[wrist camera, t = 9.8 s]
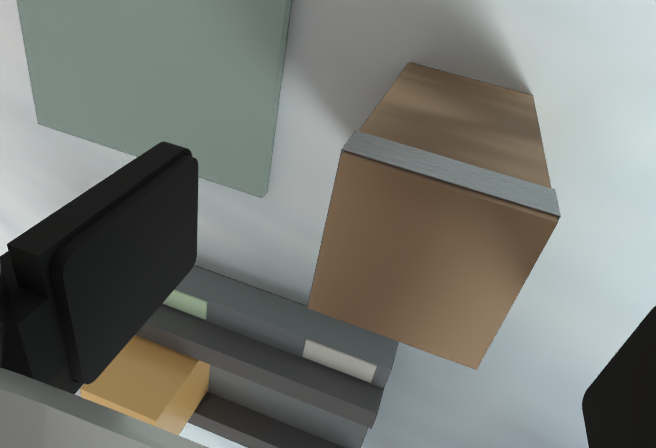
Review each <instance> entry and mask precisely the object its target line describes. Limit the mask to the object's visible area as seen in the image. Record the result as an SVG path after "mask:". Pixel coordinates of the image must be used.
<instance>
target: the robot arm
mask: <svg viewBox="0 0 656 448" xmlns="http://www.w3.org/2000/svg"><path fill="white" fill-rule="evenodd" d="M197 214H198V161H197V159H196V158H194V157H192V153H191V151H190V150H189V149H188V148H184V147H181V146H178V145H175V144H172V143H168V142H164V141H163V142H160V143H158V144H157V145H155V146H154V147H152V148H151V149H149V150H148V151H146V152H145V153H143V154H142V155H140V156H139V157H137V158H136V159H134V160H133V161H131V162H130V163H128V164H127V165H125V166H124V167H122V168H121V169H119V170H118V171H116V172H115V173H113V174H112V175H110V176H109V177H107V178H106V179H104V180H103V181H101V182H100V183H98V184H97V185H95V186H94V187H92V188H91V189H89V190H88V191H86V192H85V193H83V194H82V195H80V196H79V197H77V198H76V199H74V200H73V201H71V202H70V203H68V204H67V205H65V206H64V207H62V208H61V209H59V210H58V211H56V212H54V213H53V214H51V215H50V216H48V217H47V218H45V219H44V220H42V221H41V222H39V223H38V224H36V225H35V226H33V227H32V228H30V229H29V230H27V231H26V232H24V233H23V234H21V235H20V236H18V237H17V238H15V239H14V240H12V241H11V242H9V243H8V244H7V247H8V250H9V251H8V252H6V253H5V254H3V255H2V256H0V448H208V447H206V446H203V445H201V444H198V443H196V442H193V441H191V440H188V439H186V438H183V437H181V436H178V435H176V434H173V433H171V432H168V431H166V430H163V429H161V428H158V427H156V426H153V425H151V424H148V423H146V422H143V421H141V420H138V419H136V418H133V417H131V416H128V415H126V414H123V413H121V412H118V411H116V410H113V409H111V408H108V407H106V406H103V405H100V404H98V403H95V402H92V401H90V400H87V399H84V398H82V397H79V396H77V395H74V394H75V393H76V392H77V391H78V390H79V388H80V387H81V386H82V385H83V384H87V385H88V384H91V383H92V382H94V381H95V380H96V379H97V378H98V377H99V376H100V375H101V373H102V372H103V371H104V370H105V369H106V368H107V367H108V365H109V364H110V363H111V362H112V361H113V360H114V358H115V357H116V356H117V355H118V354H119V353H120V352H121V350H122V349H123V348H124V347H125V346H126V345H127V343H128V342H129V341H130V340H131V339H132V338H133V337H134V335H135V334H136V333H137V332H138V331H139V330H140V329H141V327H142V326H143V325H144V324H145V323H146V322H147V320H148V319H149V318H150V317H151V316H152V315H153V314H154V312H155V311H156V310H157V309H158V308H159V307H160V305H161V304H162V303H163V302H164V301H165V300H166V299H167V297H168V296H169V295H170V294H171V293H172V292H173V291H174V289H175V288H176V287H177V286H178V285H179V284H180V282H181V281H182V280H183V279H184V278H185V277H186V276H187V274H188V273H189V272H190V271H191V269H192V268H193V266H194V264H195V261H196V256H197ZM582 410H583V416H584V421H585V427H586V433H587V439H588V444H589V448H656V306H655V307H654V308H653V309H652V310H651V311H650V312H649V313H648V315H647V316H646V317H645V318H644V320H643V321H642V322H641V323H640V325H639V326H638V327H637V328H636V330H635V331H634V332H633V333H632V335H631V336H630V337H629V338H628V339H627V341H626V342H625V343H624V344H623V346H622V347H621V348H620V349H619V351H618V352H617V353H616V354H615V356H614V357H613V358H612V359H611V361H610V362H609V363H608V364H607V365H606V367H605V368H604V369H603V370H602V372H601V373H600V374H599V375H598V377H597V378H596V379H595V380H594V382H593V383H592V384H591V385H590V386H589V388H588V389H587V390H586V392H585V394H584V397H583V401H582Z"/></svg>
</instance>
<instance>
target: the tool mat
mask: <svg viewBox="0 0 656 448" xmlns="http://www.w3.org/2000/svg"><path fill="white" fill-rule="evenodd" d="M291 1H292V0H17V5H18V11H19V16H20V22H21V28H22V34H23V40H24V46H25V51H26V57H27V63H28V69H29V75H30V80H31V86H32V92H33V98H34V104H35V110H36V115H37V121H38V124H40V125H43V126H46V127H49V128H52V129H55V130H58V131H61V132H64V133H67V134H70V135H73V136H76V137H79V138H82V139H85V140H88V141H91V142H94V143H97V144H100V145H103V146H106V147H110V148H113V149H116V150H119V151H122V152H125V153H128V154H131V155H134V156H137V157H139V156H140V155H142V154H143V153H145V152H146V151H148V150H149V149H151V148H152V147H154V146H155V145H157V144H158V143H160V142H163V141H164V142H168V143H172V144H175V145H178V146H181V147H184V148H188V149H189V150H190V151H191V153H192V157H194V158H196V159H197V161H198V177H200V178H203V179H206V180H209V181H212V182H215V183H218V184H221V185H224V186H227V187H230V188H233V189H236V190H239V191H242V192H245V193H248V194H251V195H254V196H257V197H260V198H262V197H263V196H264V195H265V194H266V193H267V189H268V181H269V174H270V166H271V158H272V150H273V142H274V134H275V127H276V119H277V111H278V103H279V95H280V87H281V80H282V72H283V64H284V56H285V48H286V40H287V33H288V25H289V17H290V9H291Z"/></svg>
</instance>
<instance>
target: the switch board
mask: <svg viewBox="0 0 656 448" xmlns="http://www.w3.org/2000/svg"><path fill="white" fill-rule="evenodd" d="M135 335H137V336H139V337H142V338H144V339H147V340H149V341H152V342H154V343H157V344H159V345H162V346H164V347H167V348H169V349H172V350H174V351H177V352H179V353H182V354H184V355H187V356H190V357H192V358H195V359H197V360H200V361H202V362H205V363H207V364H210V370H209V386H208V391H207V392H206V394H205V395H204V397H203V398H202V400H201V402H200V403H199V405H198V406H197V408H196V409H195V411H194V412H193V414H192V415H191V417H190V419H189V420H188V423H191V424H193V425H195V426H198V427H200V428H202V429H205V430H207V431H210V432H212V433H214V434H217V435H219V436H221V437H224V438H226V439H229V440H231V441H233V442H236V443H238V444H241V445H243V446H245V447H248V448H361V445H362V443H363V440H364V438H365V435H366V433H367V430H368V428H372V426H373V423H374V421H375V418H376V416H377V413H378V409H379V406H380V402H381V398H382V394H383V390H384V387H385V385H386V382H387V380H388V377H389V375H390V372H391V369H392V366H393V362H394V358H395V354H396V350H397V346H398V342H399V341H396V340H393V339H390V338H388V337H385V336H382V335H379V334H377V333H374V332H371V331H369V330H366V329H363V328H360V327H358V326H355V325H352V324H349V323H347V322H344V321H341V320H338V319H336V318H333V317H330V316H327V315H325V314H322V313H319V312H316V311H314V310H311V309H308V307H307V306H304V305H301V304H299V303H296V302H293V301H290V300H288V299H285V298H282V297H279V296H277V295H274V294H271V293H268V292H266V291H263V290H260V289H257V288H255V287H252V286H249V285H246V284H244V283H241V282H238V281H235V280H233V279H230V278H227V277H224V276H222V275H219V274H216V273H213V272H211V271H208V270H205V269H202V268H200V267H197V266H193V268H192V269H191V271H190V272H189V273H188V274H187V276H186V277H185V278H184V279H183V280H182V281H181V282H180V284H179V285H178V286H177V287H176V288H175V289H174V291H173V292H172V293H171V294H170V295H169V296H168V297H167V299H166V300H165V301H164V302H163V303H162V304H161V305H160V307H159V308H158V309H157V310H156V311H155V312H154V314H153V315H152V316H151V317H150V318H149V319H148V320H147V322H146V323H145V324H144V325H143V326H142V327H141V329H140V330H139V331H138V332H137V333H136V334H135Z"/></svg>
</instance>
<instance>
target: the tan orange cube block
mask: <svg viewBox="0 0 656 448" xmlns="http://www.w3.org/2000/svg"><path fill="white" fill-rule="evenodd" d="M209 370H210V364H207V363H205V362H202V361H200V360H197V359H195V358H192V357H190V356H187V355H184V354H182V353H179V352H177V351H174V350H172V349H169V348H167V347H164V346H162V345H159V344H157V343H154V342H152V341H149V340H147V339H144V338H142V337H139V336H137V335H134V337H133V338H132V339H131V340H130V341H129V342H128V343H127V345H126V346H125V347H124V348H123V349H122V350H121V352H120V353H119V354H118V355H117V356H116V357H115V358H114V360H113V361H112V362H111V363H110V364H109V365H108V367H107V368H106V369H105V370H104V371H103V372H102V373H101V375H100V376H99V377H98V378H97V379H96V380H95V381H94V382H92V383H91V384H88V385H87V384H84V385H83V386H82V387H81V388H80V391H81V396H82V398H84V399H87V400H90V401H92V402H95V403H98V404H100V405H103V406H106V407H108V408H111V409H113V410H116V411H118V412H121V413H123V414H126V415H128V416H131V417H133V418H136V419H138V420H141V421H143V422H146V423H148V424H151V425H153V426H156V427H158V428H161V429H163V430H166V431H168V432H171V433H173V434H176V435H178V436H179V434H180V433H181V431H182V429H183V428H184V426H185V425H186V423H187V422H188V420H189V419H190V417H191V415H192V414H193V412H194V411H195V409H196V408H197V406H198V405H199V403H200V402H201V400H202V398H203V397H204V395H205V394H206V392H207V391H208V386H209Z"/></svg>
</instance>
